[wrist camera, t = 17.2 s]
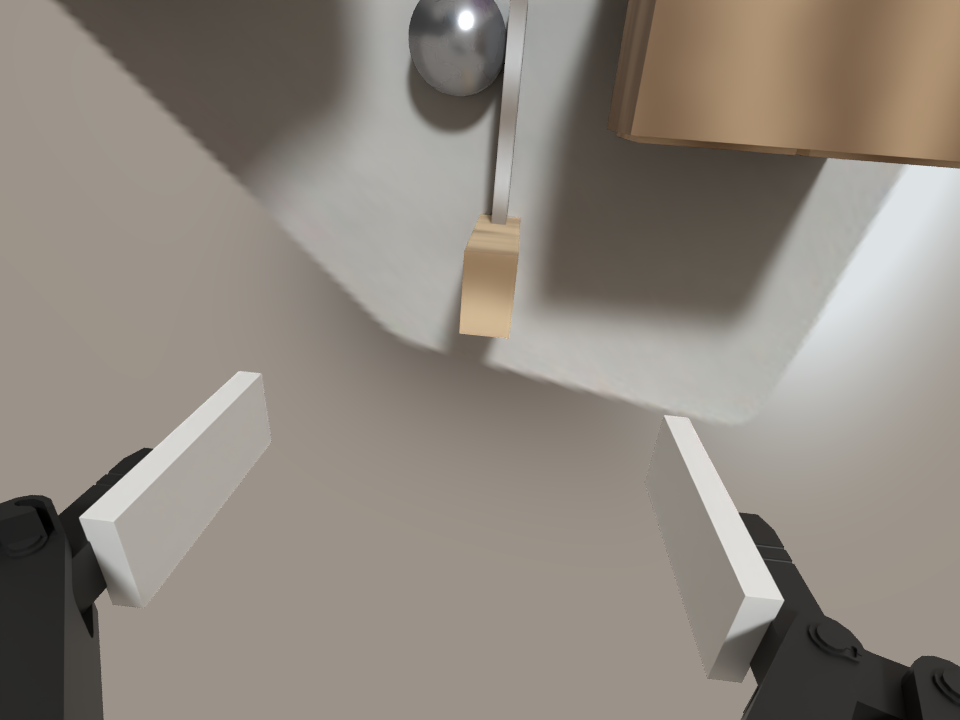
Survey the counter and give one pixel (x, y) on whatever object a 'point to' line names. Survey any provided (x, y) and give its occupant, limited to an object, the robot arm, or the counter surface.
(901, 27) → the small wooden cabinet
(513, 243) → the wood and metal l-shape
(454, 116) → the counter surface
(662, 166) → the counter surface
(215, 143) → the counter surface
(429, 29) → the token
